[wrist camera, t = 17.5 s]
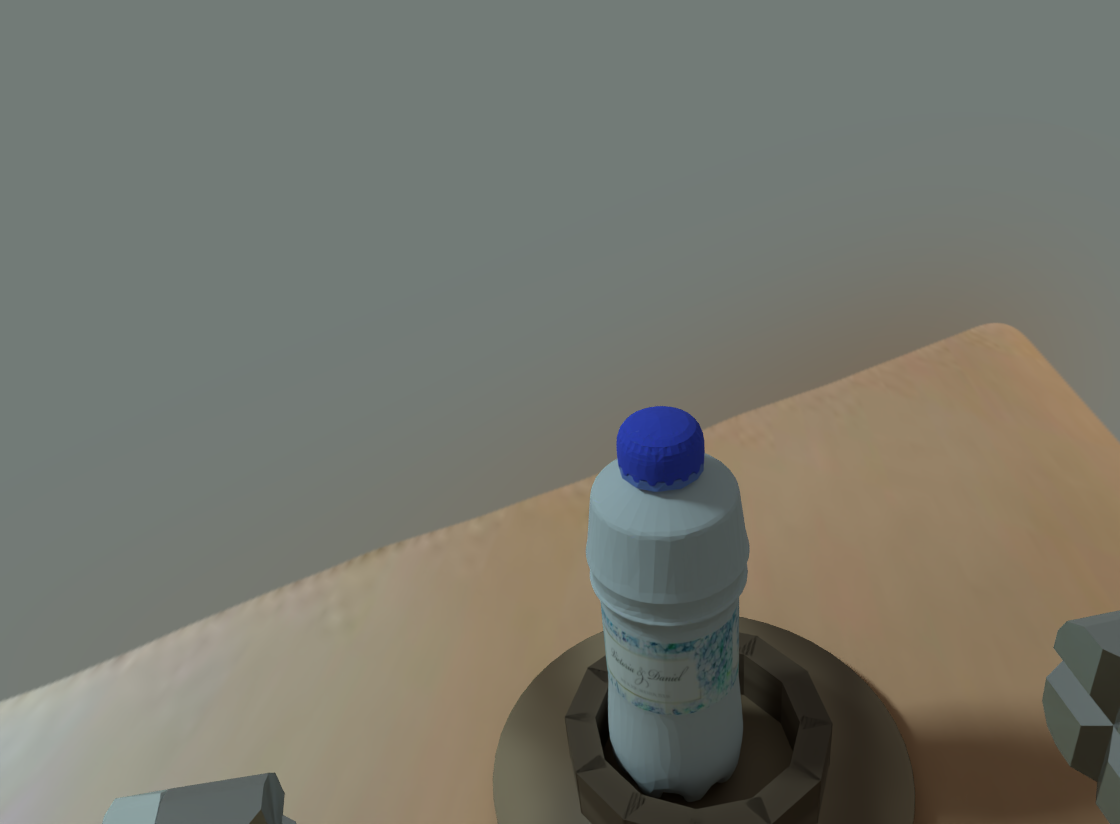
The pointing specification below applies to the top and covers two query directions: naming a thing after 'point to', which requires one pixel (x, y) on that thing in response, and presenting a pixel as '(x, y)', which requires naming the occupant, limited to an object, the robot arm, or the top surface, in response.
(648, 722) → the bottle
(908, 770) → the coaster
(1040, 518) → the top surface
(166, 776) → the top surface
